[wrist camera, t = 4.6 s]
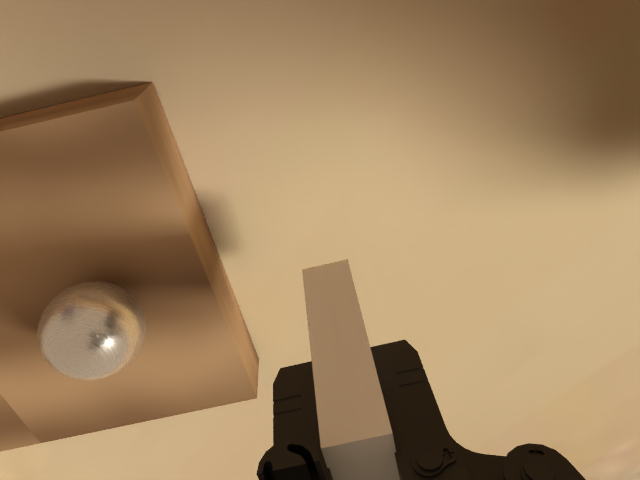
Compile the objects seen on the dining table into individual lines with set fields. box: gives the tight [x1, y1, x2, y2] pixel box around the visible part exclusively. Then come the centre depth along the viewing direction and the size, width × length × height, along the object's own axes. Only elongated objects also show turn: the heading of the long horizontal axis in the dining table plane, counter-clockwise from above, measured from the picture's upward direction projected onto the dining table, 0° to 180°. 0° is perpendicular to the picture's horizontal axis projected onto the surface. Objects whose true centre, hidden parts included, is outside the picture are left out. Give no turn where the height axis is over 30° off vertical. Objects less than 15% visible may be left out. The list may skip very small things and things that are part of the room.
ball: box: [37, 281, 146, 381], centre depth 17 cm, size 4×4×4 cm
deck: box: [0, 82, 259, 451], centre depth 20 cm, size 14×18×2 cm
